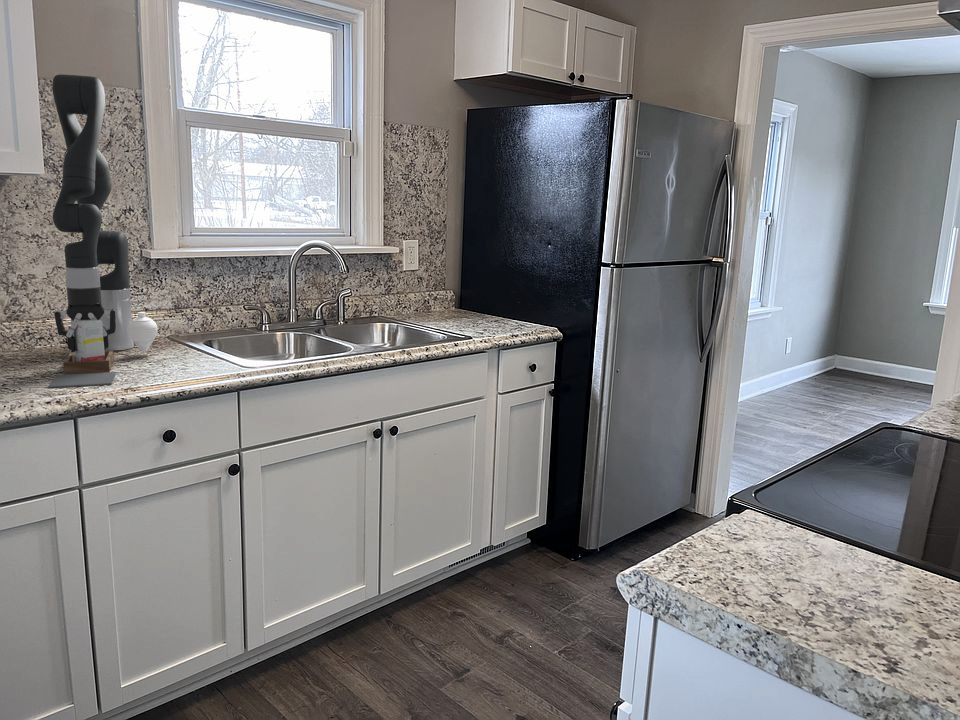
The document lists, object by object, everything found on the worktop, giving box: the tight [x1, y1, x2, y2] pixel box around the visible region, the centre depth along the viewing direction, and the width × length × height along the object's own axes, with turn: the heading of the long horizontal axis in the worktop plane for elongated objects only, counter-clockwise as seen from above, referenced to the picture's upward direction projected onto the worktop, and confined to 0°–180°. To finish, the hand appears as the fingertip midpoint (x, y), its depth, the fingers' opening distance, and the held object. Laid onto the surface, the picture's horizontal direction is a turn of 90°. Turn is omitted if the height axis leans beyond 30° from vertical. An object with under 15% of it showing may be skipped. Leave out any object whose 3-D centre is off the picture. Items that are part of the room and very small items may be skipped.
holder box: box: [62, 350, 115, 374], centre depth 191 cm, size 13×10×3 cm
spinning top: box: [127, 311, 159, 356], centre depth 207 cm, size 8×8×12 cm
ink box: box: [70, 318, 105, 362], centre depth 190 cm, size 9×5×12 cm, turn 47°
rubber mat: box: [47, 371, 117, 389], centre depth 179 cm, size 12×13×1 cm
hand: (88, 350), depth 191 cm, fingers closed on ink box, 6 cm apart
